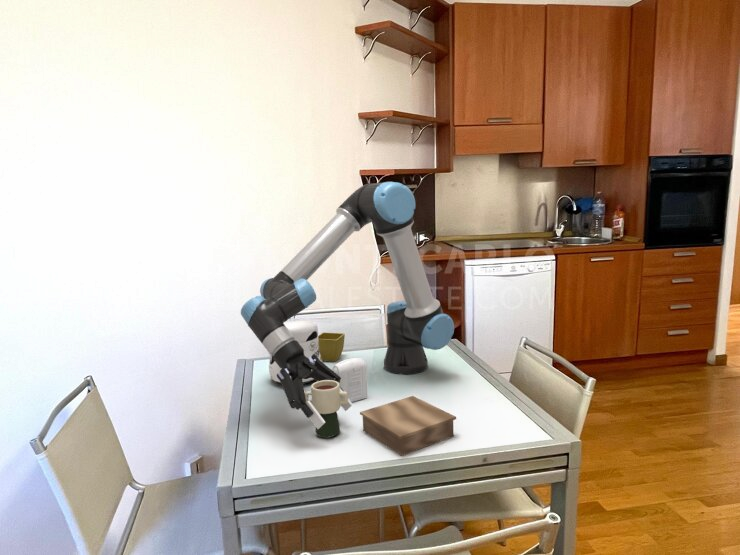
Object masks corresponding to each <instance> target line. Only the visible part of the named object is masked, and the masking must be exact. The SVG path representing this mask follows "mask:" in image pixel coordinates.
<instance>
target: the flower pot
mask: <svg viewBox="0 0 740 555" xmlns="http://www.w3.org/2000/svg"><path fill="white" fill-rule="evenodd" d="M345 335H346V334H345V333H340V332H339V333H338V332H321V333H320V334H318V340H319V352H320V355H321V358H322V362H336V361H338V359H339V358H341V355H342V352H343V351H344V346H345Z"/></svg>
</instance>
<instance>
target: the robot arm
mask: <svg viewBox="0 0 740 555" xmlns="http://www.w3.org/2000/svg"><path fill="white" fill-rule="evenodd" d="M415 210H416V198H415V196H414V193H413V192H412V191H411V189H410V188H409V187H408V186H406V185H404V184H403V183H400V182H396V181H395V182H394V181H385V182H376V183H375V182H373V183H372V182H371V183H366V184H364V185H362V186H360V187H359V188H358V189H356V190H355V191H354V192H352V193H351V194H350V196H348V197H347V198H346V199H345V200H343V202H342V203H341V204H340V205H339V206H338V207H337V208H336V211H335V212H336V213H335V215H334V216H333V217H332V218H331V219H330V220H329V221H328V222H327V223H326V224H325V225H324V226H323V227H322V228H321V229H320V230H319V231H318V232H317V233H316V235H315V236H313V238H311V240H310V241H309V242H307V244H306V245H305V246H304V247H303V248H302V249H301V250H299V252H298V253H296V255H295V256H294V257H293V258H292V259H290V261H289V262H288V263H287V264H286V265H285V266H284V267H283V268H282V269H281V270H280V271H279V272H278V273H277V274H276V275H275V276H274V277H270V278H267V279H265V280H264V281H263V282H262V284H261V286H260V290H259V293H260V295H257V296H255V297H251V298H250V299H248V300H247V301H246V302H245V303H244V304H243V305H242V307H241V309H240V315H241V317H242V318H243V321H245V323H246V324H247V327H248V328H249V329H250V330H251V331H252V333H253V334H254V335H255V337H256V338H257V339H258V340H259V341H260V343H261V344H262V346H263V347H264V348H265V349H266V351H267V352H268V354H269V355H270V357H271V356H273V359H274V360H275V362H276V363H277V364H278V366H279V367H280V368H282V369H281V370H280V371H279V372H278V374H277V377H278V379H279V380H280V381H281V383H282V384H281V386H282V387H283V391H284V394H285V396H286V398H287V402H288V404H289V407H290V408H291V409H293V410H294V409H295V410H297V411H298V410H301V412H302V413H303V414H304V415H305V417H306V418H308V419H309V420H310V421H311V423H312V424H313V425H314V427H315V429H316V428H317V429H319V428H320V427H321V426H322V425H323V424H324V423H325V421H324V419H323V418H322V417H321V415H320V414H319V413H318V411H317V410H316V409H315V407H314V406H313V405H312V403H311V402H310V401H307V402H306V398H305V392H306V391H305V388H304V384H303V381H302V379H303V378H306V377H309V378H313V379H315V380H314V381H316V382H317V381H322V380H334V381H337V382H338V383H340V380H341V377H340V376H338V375H337V374H336V373H335V372H334V371H333V369H331V367H329V366H327V365H326V363H324V362H323V361H322V362H321V361H320V360H319V359H318V357H317V356H316V355H315V354H313V355H312V356H311V357H310V358H307V357H306V356H305V355H304V349H303V348H302V347H301V345H300V344H299V343H298V342H297V341H296V340H294V339H295V338H294V336H293V335H292V334H291V332H290V331H289V330H288V329H287V327H286V326H285V325H284V324H283V323H284V322H288V320H290V319H292V318H293V317H294V316H297V314H299V313H301V312H302V311H304V310H305V309H307V308H309V306H311V305H312V304H313V303H315V302H316V301H317V294H316V290H315V289H314V288H313V286H312V284H311V283H310V282H309V279H310V277H312V276H313V274H314V273H315V272H316V271H317V270H319V268H320V267H322V265H324V264H325V262H326V261H327V260H329V258H330V257H331V256H332V255H333V254H334V253H335V252H336V251H337V250H338V249H339V248H340V246H342V245H343V243H344V242H345V241H347V239H348V238H350V236H351V235H352V234H353V233H355V232H360V231H361V230H362V229H363V228H364V227H365V226H366V225H368V224H370V223H373V227H374V230H375V232H376V235H377V236H380V237H382V238H383V241H384V244H385V246H386V248H387V252H388V254H389V258H390V261H391V263H392V266H393V270H394V273H395V276H396V278H397V281H398V283H399V287H400V291H401V293H402V296H403V298H404V300H398V301H394V302H390V303H388V305H387V307H386V316H387V318H386V319H387V322H386V323H387V348H386V352H385V356H384V359H383V369H384V370H385V371H387V372H389V373H393V374H398V375H412V374H418V373H422V372H424V371H426V370H427V369H428V367H429V366H428V365H429V362H428V358H427V355H426V351H425V349H428V350H429V349H430V350H433V351H436V350H437V351H438V350H441V349H443V348H444V347H447V345H448V344H449V343H450V342H451V339H452V337H453V335H454V332H455V323H454V320H453V319H452V317H450V315H449V314H446V313H444V311H443V308H442V305H441V303H440V300H438V299H436V298H434V296H433V293H432V290H431V286H430V283H429V281H428V277H427V274H426V271H425V268H424V265H423V262H422V258H421V256H420V253H419V250H418V246H417V244H416V241H415V240H416V239H415V237H414V234H413V231H412V226H413V225H414V223H415V221H414V220H415V219H414V213H415ZM424 348H425V349H424ZM311 369H312V371H311ZM290 376H291V378H290ZM334 378H335V379H334ZM340 392H344V391H343V390H342V388H341V387H340ZM340 400H343V401H344V395H340ZM353 404H354V403H353V402H351V401H350V400H349V399H348V403H347V404H340V405H341V406H340V407H342V409H343V410H344V411H345V412H346V411H348V410H349V409H350V408H351V407H352V406H353Z"/></svg>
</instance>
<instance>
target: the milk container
mask: <svg viewBox="0 0 740 555" xmlns="http://www.w3.org/2000/svg"><path fill="white" fill-rule="evenodd" d="M283 324H284V325H285V326H286V327H287V329H288V330H289V331H290V332H291V334H292V335H293V336H294V338H295V339H294V340H296V341H297V342H298V343H299V344H300V345H301V347H302V348H303V349H304V355H305V356H306V357H307V358H310V357H311V356H312V355H313V354H315V355H316V356H317V357H318V359H319V360H320V361H321V362H322V363H323V361H322V358H321V355H320V352H319V340H318V336H319V330H318V329H319V328H318V325H317V323H315V322H313V321H308V320H290V321H285V322H284V323H283ZM281 369H282V368H280V367H279V366H278V364H277V363H276V362H275V360H274V359H273V356H271V355H270V358H269V365H268V370H269V375H270V378H271V379H272V381H274V382H276V383H277V384H281V385H282V383H281V381H280V380H279V379H278V377H277V374H278V372H279V371H280V370H281ZM311 371H312V369H311ZM290 378H291V376H290ZM302 381H303V385H304V384H309V383H311V382H315V381H316V380H315V379H313V378H309V377H306V378H303V379H302Z"/></svg>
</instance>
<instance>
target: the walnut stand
mask: <svg viewBox="0 0 740 555" xmlns="http://www.w3.org/2000/svg"><path fill="white" fill-rule="evenodd" d="M359 415H361V416H362V428H363V431H362V432H365V433H366V434H367V435H369V436H370V437H372V438H374V439H375V440H377V441H378V442H379V443H381V444H382V445H384V446H386V447H387V448H389V449H390V450H392V451H393V452H395V453H396V454H398V455H399V456H404V454H405V455H407V454H410V453H412V452H415V451H417V449H418V450H420V449H422V448H427V447H428V446H431V445H433V444H436V443H439V442H442V441H444V440H447V439H448V438H451V437H454V421H455V420H457V416H455V415H454V414H451V413H449V412H447V411H445V410H443V409H441V408H439V407H436V406H435V405H432V404H430V403H428V402H427V401H424V400H422V399H420V398H418V397H417V396H414V395H411V396H409V397H403V398H402V399H399V400H398V399H397V400H395V401H392V402H388V403H385V404H381V405H378V406H376V407H371V408H368V409H365V410H362V411H359ZM409 452H410V453H409Z"/></svg>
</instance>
